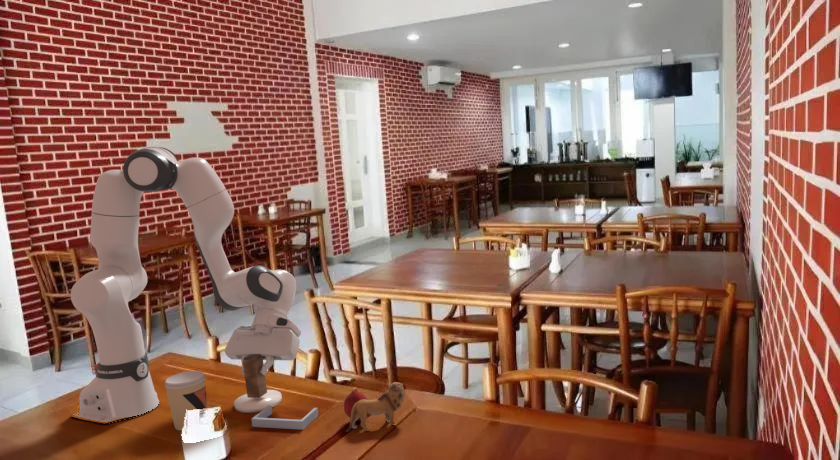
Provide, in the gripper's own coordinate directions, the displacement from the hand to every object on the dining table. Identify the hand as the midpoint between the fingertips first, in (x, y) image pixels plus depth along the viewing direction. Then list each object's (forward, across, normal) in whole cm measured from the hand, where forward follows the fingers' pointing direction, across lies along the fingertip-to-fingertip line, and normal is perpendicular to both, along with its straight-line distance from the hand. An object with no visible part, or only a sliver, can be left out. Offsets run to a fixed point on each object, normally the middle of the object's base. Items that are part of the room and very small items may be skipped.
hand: (253, 374), depth 163 cm
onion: (+11, +32, +1) cm, 33 cm away
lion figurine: (+12, +37, 0) cm, 39 cm away
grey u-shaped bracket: (+11, +14, 0) cm, 18 cm away
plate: (+5, 0, +6) cm, 8 cm away
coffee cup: (+15, -10, -3) cm, 19 cm away
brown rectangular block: (+4, 0, +5) cm, 6 cm away
